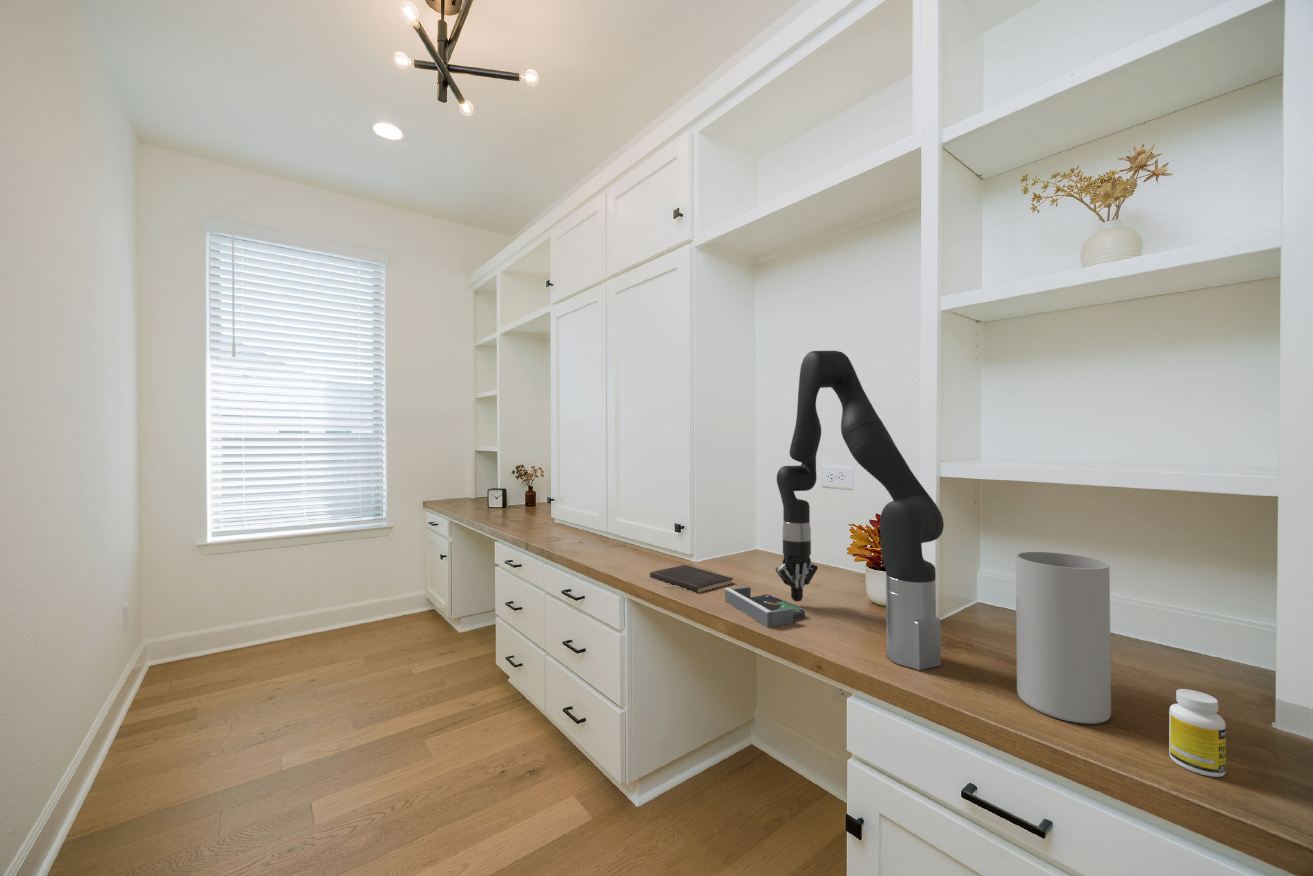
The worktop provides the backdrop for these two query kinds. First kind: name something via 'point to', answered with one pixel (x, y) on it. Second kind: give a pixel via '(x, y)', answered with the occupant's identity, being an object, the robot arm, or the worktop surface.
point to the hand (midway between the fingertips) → (797, 600)
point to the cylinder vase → (1064, 635)
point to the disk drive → (778, 605)
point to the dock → (757, 608)
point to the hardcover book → (691, 578)
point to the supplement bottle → (1197, 733)
